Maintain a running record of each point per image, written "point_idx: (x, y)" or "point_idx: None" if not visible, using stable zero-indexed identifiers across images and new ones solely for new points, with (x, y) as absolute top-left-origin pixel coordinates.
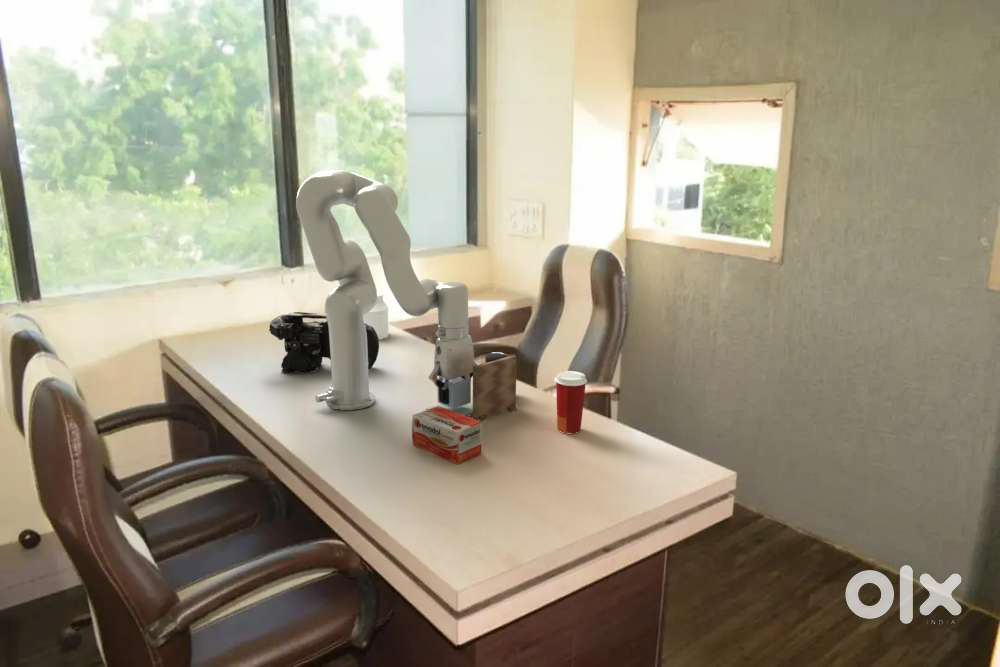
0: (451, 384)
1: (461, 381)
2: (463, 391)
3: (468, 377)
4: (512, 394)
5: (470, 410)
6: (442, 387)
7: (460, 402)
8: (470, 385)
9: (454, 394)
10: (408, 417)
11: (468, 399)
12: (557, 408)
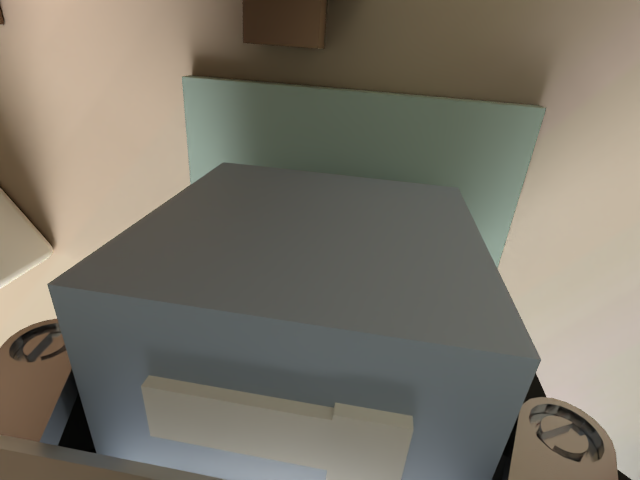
0: (467, 419)
1: (212, 376)
2: (277, 233)
3: (13, 386)
4: None
5: (262, 132)
6: (607, 461)
7: (351, 189)
8: (113, 242)
9: (455, 253)
10: (635, 393)
11: (236, 178)
12: None
